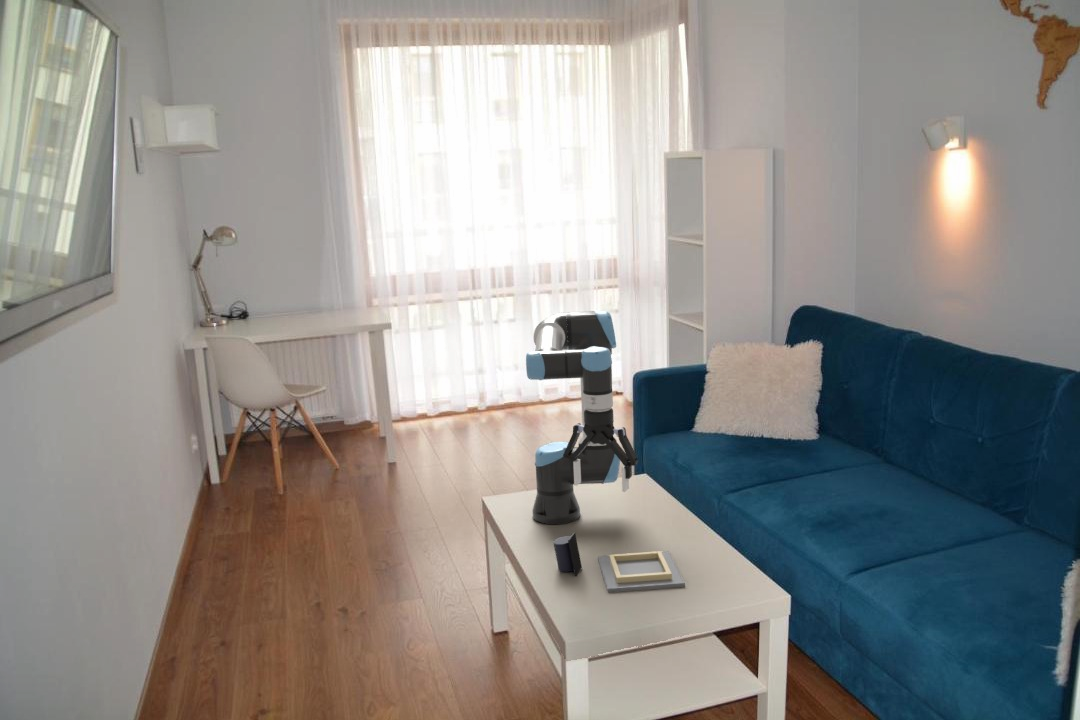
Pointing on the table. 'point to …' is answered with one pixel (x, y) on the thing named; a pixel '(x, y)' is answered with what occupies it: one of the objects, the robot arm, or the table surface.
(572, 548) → the speaker
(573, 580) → the table surface
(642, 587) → the mount board
